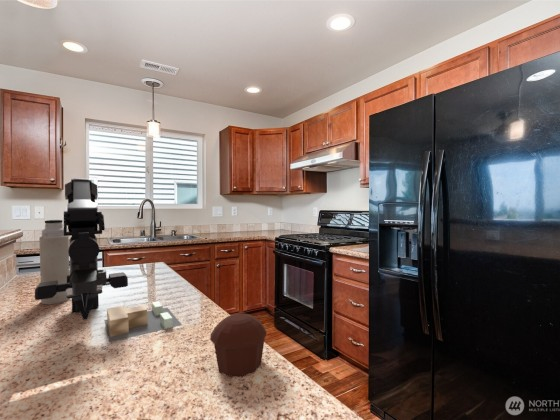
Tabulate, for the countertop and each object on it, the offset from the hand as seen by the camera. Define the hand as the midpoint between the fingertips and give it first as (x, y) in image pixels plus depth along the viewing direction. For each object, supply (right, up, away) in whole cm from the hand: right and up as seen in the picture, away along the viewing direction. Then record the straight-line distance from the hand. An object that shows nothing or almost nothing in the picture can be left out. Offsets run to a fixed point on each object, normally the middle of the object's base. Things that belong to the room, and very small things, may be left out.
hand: (85, 318), depth 73 cm
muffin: (+40, -5, -12) cm, 42 cm away
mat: (+11, -5, +7) cm, 14 cm away
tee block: (+7, -4, +5) cm, 10 cm away
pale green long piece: (+15, -4, +10) cm, 18 cm away
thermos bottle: (-29, -4, +29) cm, 41 cm away
